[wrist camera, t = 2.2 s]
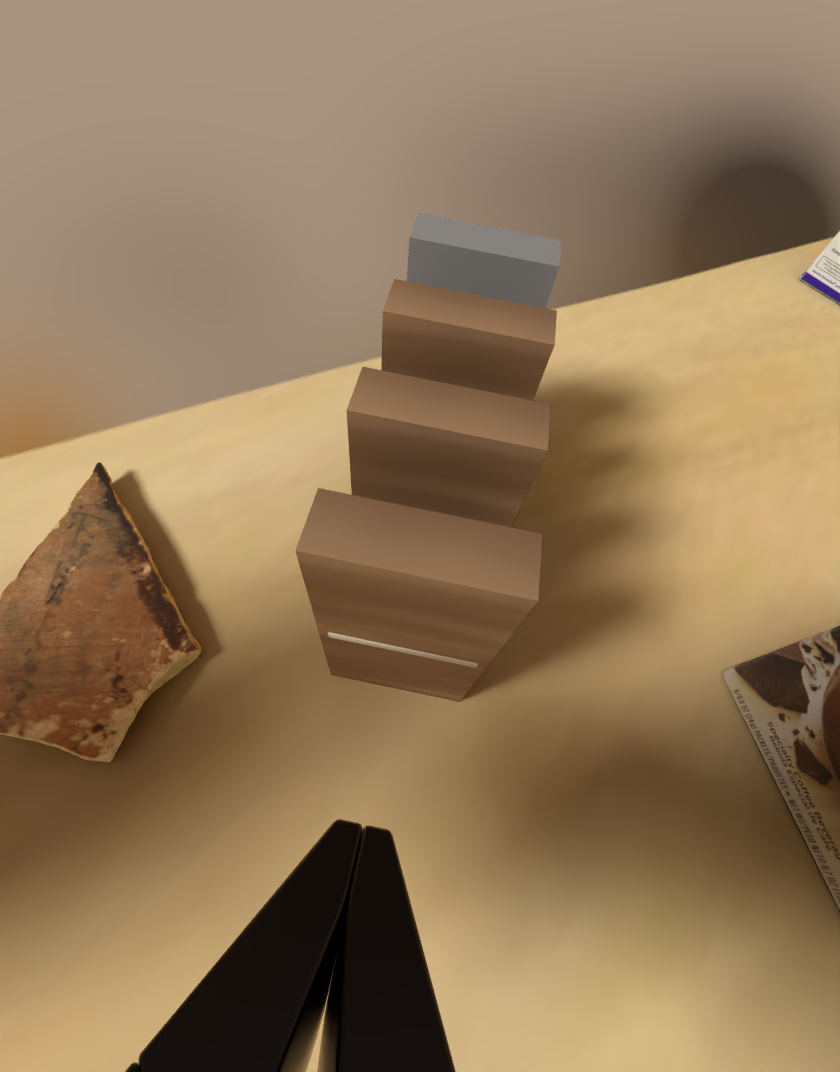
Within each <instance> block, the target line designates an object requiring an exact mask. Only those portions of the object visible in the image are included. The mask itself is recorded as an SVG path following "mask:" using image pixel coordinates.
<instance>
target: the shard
mask: <svg viewBox="0 0 840 1072" xmlns="http://www.w3.org/2000/svg"><path fill="white" fill-rule="evenodd" d="M201 651H202V648H201V646H200V645H199V643H198V642H197V640H196V639H195V638H194V637H193V636H192V634H191V631H190V629H189V627H188V626H187V625H186V624H185V622H184V620H183V618H182V616H181V614H180V612H179V609H178V607H177V605H176V603H175V599H174V598H173V597H172V595H171V593H170V591H169V589H168V588H167V587H166V586H165V585H164V583H163V581H162V579H161V577H160V575H159V571H158V569H157V567H156V565H155V563H154V561H153V559H152V557H151V555H150V550H149V548H148V547H147V546H146V545H145V543H144V540H143V537H142V536H141V534H140V532H139V530H138V528H137V526H136V525H135V523H134V520H133V517H132V516H131V515H130V513H129V511H128V510H127V508H126V506H124V505H123V504H122V503H121V502H120V500H119V498H118V495H117V493H116V492H115V491H114V490H113V488H112V487H111V478H110V476H109V475H108V472H107V470H106V469H105V467H104V466H103V465H102V464H101V463H97V465H96V467H95V469H94V471H93V472H92V474H91V476H90V478H89V479H88V480H87V481H86V482H85V484H84V485H83V487H82V488H81V489H80V491H79V492H78V493H77V494H76V496H75V497H74V499H73V501H72V502H71V504H70V507H69V509H68V511H67V513H66V514H65V515H64V516H63V517H62V518H61V519H60V520H59V522H58V523H57V525H56V526H55V527H54V529H52V531H51V532H50V533H49V534H48V536H47V537H46V538H45V539H44V541H43V542H42V543H41V544H39V545H38V547H37V548H36V549H35V551H34V552H33V553H32V554H31V555H30V557H29V558H28V559H27V561H26V562H25V564H24V565H23V567H22V568H21V570H20V572H19V573H18V574H17V576H16V578H15V579H14V580H13V581H12V582H11V583H10V584H9V585H8V586H7V587H6V589H5V590H4V591H3V593H2V594H1V596H0V734H2V735H6V736H11V737H15V738H21V739H25V740H30V741H37V742H40V743H42V744H45V745H48V746H54V747H57V748H59V749H61V750H63V751H66V752H69V753H71V754H73V755H76V756H78V757H80V758H82V759H85V760H90V761H105V762H110V761H112V760H113V758H114V756H115V753H116V751H117V750H118V748H119V746H120V745H121V743H122V741H123V738H124V736H125V734H126V732H127V730H128V728H129V727H130V725H131V724H132V722H133V720H134V719H135V717H136V714H137V712H138V711H139V709H140V708H141V706H142V705H143V703H144V701H145V700H146V699H147V698H148V697H149V696H150V695H151V694H152V693H153V692H154V691H155V690H156V689H158V688H160V687H161V686H162V685H163V684H164V683H166V682H167V681H169V680H170V679H171V678H173V677H174V676H175V675H177V674H178V673H180V672H181V671H182V670H183V669H184V668H185V667H187V666H188V665H190V664H191V663H192V662H193V661H195V660H196V659H197V658H198V657H199V656H200V653H201Z"/></svg>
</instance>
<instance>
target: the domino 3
mask: <svg viewBox="0 0 840 1072" xmlns="http://www.w3.org/2000/svg"><path fill="white" fill-rule="evenodd" d="M550 409H551V404H547V403H542V402H537V401H532V400H527V399H522V398H517V397H512V396H507V395H502V394H497V393H492V392H487V391H482V390H477V389H472V388H467V387H462V386H457V385H452V384H447V383H442V382H437V381H432V380H427V379H422V378H417V377H412V376H407V375H402V374H397V373H392V372H387V371H382V370H377V369H372V368H366V367H362V370H361V373H360V375H359V378H358V381H357V384H356V386H355V389H354V392H353V395H352V397H351V400H350V403H349V406H348V408H347V422H348V438H349V455H350V471H351V488H352V495H354V496H359V497H364V498H369V499H374V500H379V501H384V502H389V503H393V504H398V505H403V506H408V507H413V508H418V509H423V510H428V511H433V512H438V513H443V514H447V515H452V516H457V517H462V518H467V519H472V520H477V521H482V522H487V523H492V524H497V525H501V526H506V527H511V526H512V524H513V522H514V520H515V518H516V515H517V513H518V511H519V509H520V507H521V505H522V503H523V501H524V499H525V497H526V495H527V493H528V491H529V489H530V487H531V484H532V482H533V480H534V478H535V476H536V474H537V472H538V470H539V468H540V466H541V464H542V462H543V460H544V458H545V456H546V453H547V451H548V441H549V425H550Z"/></svg>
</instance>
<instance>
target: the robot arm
mask: <svg viewBox="0 0 840 1072" xmlns="http://www.w3.org/2000/svg"><path fill="white" fill-rule="evenodd" d="M362 829H363V828H362V826H361V824H359V823H355V822H350V821H345V820H340V819H339V820H336V821H335V822H334V823H333V824H332V825H331V826H330V827H329V828H328V830H327V831H326V832H325V833H324V834H323V836H322V837H321V838H320V839H319V840H318V842H317V843H316V844H315V845H314V846H313V848H312V849H311V850H310V851H309V852H308V854H307V855H306V856H305V857H304V858H303V860H302V861H301V862H300V863H299V864H298V866H297V867H296V868H295V869H294V870H293V872H292V873H291V874H290V875H289V876H288V878H287V879H286V880H285V881H284V882H283V883H282V885H281V886H280V887H279V888H278V889H277V891H276V892H275V893H274V894H273V895H272V897H271V898H270V899H269V900H268V901H267V903H266V904H265V905H264V906H263V907H262V909H261V910H260V911H259V912H258V913H257V915H256V916H255V917H254V918H253V919H252V921H251V922H250V923H249V924H248V925H247V927H246V928H245V929H244V930H243V931H242V933H241V934H240V935H239V936H238V937H237V939H236V940H235V941H234V942H233V943H232V945H231V946H230V947H229V948H228V949H227V951H226V952H225V953H224V954H223V955H222V957H221V958H220V959H219V960H218V961H217V963H216V964H215V965H214V966H213V967H212V969H211V970H210V971H209V972H208V973H207V975H206V976H205V977H204V978H203V979H202V981H201V982H200V983H199V984H198V985H197V987H196V988H195V989H194V990H193V991H192V993H191V994H190V995H189V996H188V997H187V999H186V1000H185V1001H184V1002H183V1003H182V1005H181V1006H180V1007H179V1008H178V1009H177V1011H176V1012H175V1013H174V1014H173V1015H172V1017H171V1018H170V1019H169V1020H168V1021H167V1023H166V1024H165V1025H164V1026H163V1027H162V1029H161V1030H160V1031H159V1032H158V1033H157V1034H156V1036H155V1037H154V1038H153V1039H152V1040H151V1042H150V1043H149V1044H148V1045H147V1046H146V1048H145V1049H144V1050H143V1051H142V1052H141V1054H140V1056H139V1061H138V1063H132V1064H131V1065H130V1066H129V1068H128V1069H127V1070H126V1071H125V1072H306V1070H307V1067H308V1063H309V1060H310V1057H311V1054H312V1050H313V1047H314V1044H315V1041H316V1038H317V1034H318V1031H319V1027H320V1024H321V1020H322V1017H323V1013H324V1009H325V1005H326V1001H327V1005H326V1011H325V1017H324V1024H323V1031H322V1038H321V1046H320V1055H319V1063H318V1072H455V1068H454V1064H453V1060H452V1057H451V1053H450V1049H449V1045H448V1042H447V1038H446V1034H445V1030H444V1027H443V1023H442V1019H441V1015H440V1012H439V1008H438V1004H437V1000H436V997H435V993H434V989H433V985H432V982H431V978H430V974H429V970H428V967H427V963H426V959H425V955H424V952H423V948H422V944H421V940H420V937H419V933H418V929H417V925H416V922H415V918H414V914H413V910H412V907H411V903H410V899H409V895H408V892H407V888H406V884H405V880H404V877H403V873H402V869H401V865H400V862H399V858H398V854H397V850H396V847H395V843H394V839H393V836H392V834H391V832H390V831H389V830H387V829H382V828H378V827H373V826H365V827H364V829H363V832H362ZM361 835H362V836H361ZM360 840H361V841H360ZM334 964H335V965H334ZM333 969H334V970H333ZM332 974H333V975H332ZM331 978H332V980H331ZM330 983H331V985H330ZM329 988H330V990H329ZM328 992H329V995H328ZM327 996H328V1000H327Z"/></svg>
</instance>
